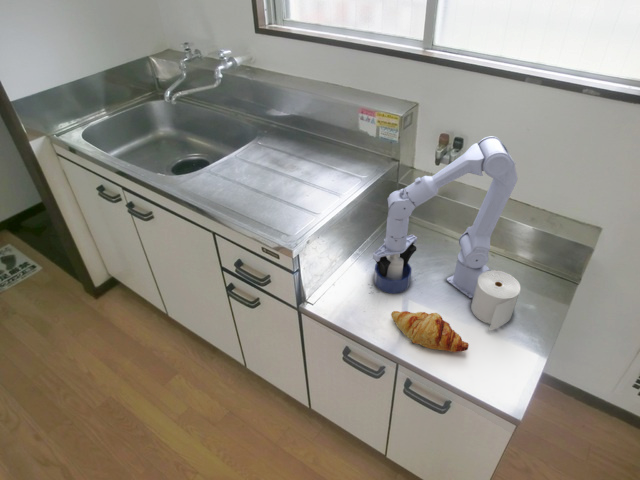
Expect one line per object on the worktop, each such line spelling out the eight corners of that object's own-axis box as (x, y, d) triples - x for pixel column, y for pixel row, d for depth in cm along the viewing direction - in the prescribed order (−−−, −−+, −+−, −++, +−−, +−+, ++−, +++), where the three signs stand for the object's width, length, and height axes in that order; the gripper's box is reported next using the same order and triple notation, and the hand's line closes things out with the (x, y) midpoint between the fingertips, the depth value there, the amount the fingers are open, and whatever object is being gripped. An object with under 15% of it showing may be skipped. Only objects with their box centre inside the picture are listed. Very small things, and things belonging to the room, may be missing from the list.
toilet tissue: (497, 293, 129) (505, 267, 123) (522, 324, 120) (532, 297, 114) (463, 300, 127) (470, 274, 121) (486, 332, 118) (494, 305, 112)
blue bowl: (417, 283, 133) (419, 271, 130) (390, 298, 129) (391, 286, 126) (393, 264, 140) (394, 252, 137) (366, 278, 136) (367, 266, 133)
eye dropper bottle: (395, 287, 131) (398, 255, 124) (379, 279, 134) (382, 247, 127) (404, 279, 134) (407, 248, 126) (388, 271, 137) (391, 240, 129)
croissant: (385, 333, 123) (379, 324, 116) (401, 301, 126) (396, 290, 119) (461, 368, 113) (459, 361, 106) (476, 333, 116) (476, 323, 109)
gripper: (406, 216, 129) (402, 253, 137) (366, 234, 123) (364, 272, 131) (424, 228, 125) (418, 266, 133) (383, 247, 118) (380, 285, 127)
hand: (393, 270), depth 132 cm, fingers open, 7 cm apart
